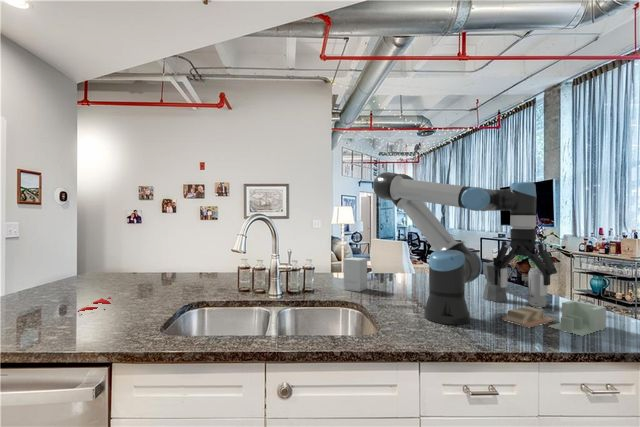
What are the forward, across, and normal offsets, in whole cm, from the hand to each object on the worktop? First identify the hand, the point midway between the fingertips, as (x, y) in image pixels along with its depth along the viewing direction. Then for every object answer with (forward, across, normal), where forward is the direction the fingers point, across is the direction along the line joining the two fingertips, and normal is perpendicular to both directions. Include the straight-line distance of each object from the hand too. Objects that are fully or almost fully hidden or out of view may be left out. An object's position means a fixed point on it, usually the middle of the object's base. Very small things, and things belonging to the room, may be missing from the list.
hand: (522, 291), depth 115 cm
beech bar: (+10, 0, -2) cm, 10 cm away
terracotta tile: (+11, 0, -3) cm, 11 cm away
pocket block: (+11, -12, -9) cm, 18 cm away
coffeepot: (+11, +24, -19) cm, 32 cm away
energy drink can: (+11, +10, -25) cm, 29 cm away
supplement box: (+11, +68, +22) cm, 73 cm away
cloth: (+12, +90, +129) cm, 158 cm away
